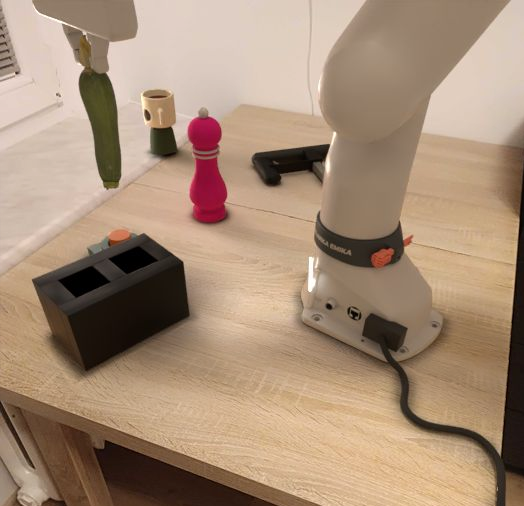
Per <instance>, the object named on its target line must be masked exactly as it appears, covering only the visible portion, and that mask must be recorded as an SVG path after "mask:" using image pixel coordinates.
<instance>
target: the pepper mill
mask: <svg viewBox="0 0 524 506" xmlns="http://www.w3.org/2000/svg"><path fill="white" fill-rule="evenodd" d="M197 115H198V116H195V117H194V118H193V119H191V121H190V122H189V123H188V126H187V129H186V134H187V138H188V141H189V142H190V143H191V147H190V149H191V155H192V156H193V157H194V161H195V162H194V163H195V168H194V169H195V170H194V175H193V178H192V179H191V182H190V186H189V199H190V201H191V203H192V204H193V207H192V210H193V216H194V218H195V220H197V221H199V222H200V223H201V222H202V223H216V222H219V221H221V220H224V218H225V217H226V214H227V213H226V212H227V211H226V204H225V202H226V201H227V199H228V188H227V185H226V182H225V180H224V178H223V176H222V174H221V171H220V168H219V163H218V159H219V156H220V154H221V151H220V148H221V146H220V145H219V143H220V141H221V140H222V136H223V131H222V128H221V125H220V123H219V122H218V120H217V119H216V118H214V117H212V116H209V115H210V113H209V110H208V109H207V108H206V107H200V108H199V109H198V111H197Z"/></svg>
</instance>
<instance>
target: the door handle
mask: <svg viewBox="0 0 524 506" xmlns="http://www.w3.org/2000/svg"><path fill="white" fill-rule="evenodd" d="M330 144H331V143H324V144H315V145H308V146H300V147H299V146H297V147H291V148H281V149H275V150H267V151H258V152H255V153H254V154H253V155H252V157H251V163H252V165H253V166H254V167H256V169H257V171H258V172H259V174H260V176H261V177H262V179H263V180H264V182H265V183H266V184H268V185H276V184H278V183H280V182H281V181H282V175H283V174H290V173H291V174H292V173H299V172H306V171H308V172H310V173H312V172H313V173H315V175H316V176H317V177H318V179H319V180H320V181H321V182H322V183H323V179H324V170H325V165H323V160H324V159H326V157H327V154H328V151H329V148H330Z"/></svg>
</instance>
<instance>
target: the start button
mask: <svg viewBox="0 0 524 506" xmlns="http://www.w3.org/2000/svg"><path fill="white" fill-rule="evenodd" d="M130 232H131V231H130V230H127V229H124V228H119V229H113V230H112V231H110V232H109V233H108V235H107V236H108V238H109V242H110V246H114V245H116V244H118V243H121V242H123V241H126V240H128V239H130V238H131V234H130Z"/></svg>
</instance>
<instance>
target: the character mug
mask: <svg viewBox="0 0 524 506" xmlns="http://www.w3.org/2000/svg"><path fill="white" fill-rule="evenodd" d="M140 98H141V105H142V106H141V107H142V113H143V119H144V124H145V126H148V127H150V129H149V144H150V145H149V146H150V152H151V153H152V154H153V155H157V156H163V155H164V156H166V155H169V154H173V153H176V152H177V151H178V146H177V140H176V135H175V132H174V131H175V130H174V129H173V126H175V125H176V124H177V116H176V115H177V113H176V104H175V95H174V92H173V91H172V90H170V89H166V88H153V89H147V90H144V91H142V92H141V93H140Z"/></svg>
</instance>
